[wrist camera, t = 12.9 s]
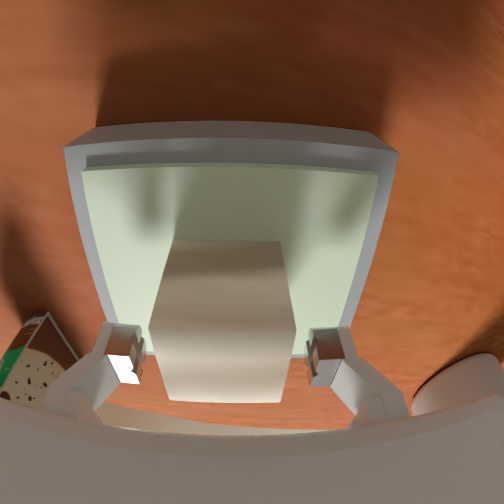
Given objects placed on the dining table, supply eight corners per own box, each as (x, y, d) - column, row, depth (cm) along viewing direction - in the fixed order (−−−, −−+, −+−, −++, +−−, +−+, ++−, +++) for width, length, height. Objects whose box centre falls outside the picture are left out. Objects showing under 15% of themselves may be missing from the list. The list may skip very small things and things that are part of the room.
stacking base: (95, 127, 14) (57, 150, 11) (369, 131, 15) (404, 156, 11) (130, 313, 21) (117, 357, 18) (328, 316, 22) (340, 361, 19)
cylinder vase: (500, 367, 31) (557, 515, 10) (428, 415, 36) (467, 562, 15) (485, 335, 26) (564, 534, 5) (393, 398, 31) (438, 591, 10)
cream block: (173, 239, 13) (148, 327, 9) (279, 241, 14) (296, 330, 9) (182, 314, 16) (169, 400, 12) (270, 316, 16) (280, 401, 12)
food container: (-7, 297, 20) (-58, 386, 12) (40, 296, 20) (-14, 403, 12) (54, 381, 27) (29, 460, 19) (99, 386, 27) (78, 474, 19)
